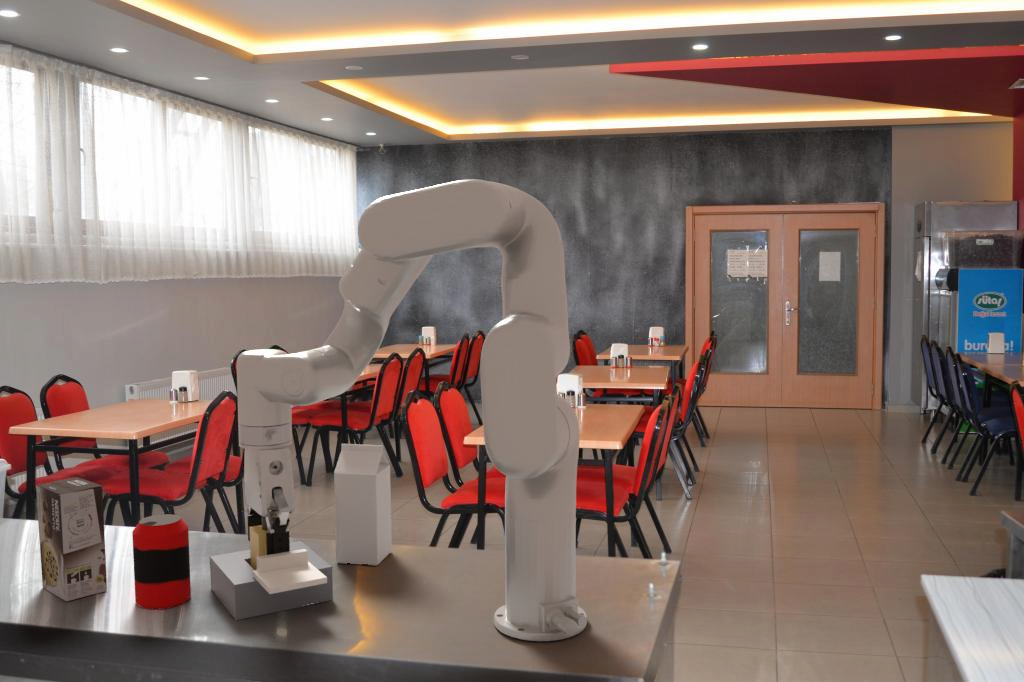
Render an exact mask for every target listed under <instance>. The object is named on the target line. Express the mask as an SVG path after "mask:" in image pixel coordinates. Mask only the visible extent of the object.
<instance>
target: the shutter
mask: <svg viewBox="0 0 1024 682" xmlns="http://www.w3.org/2000/svg"><path fill="white" fill-rule="evenodd" d="M256 559H257V570H254V571H253V577H254V578H255V579H256V580H257V581H258V582H259V583H260V585H261V586H262V587H263V588H264V589H265V590H266V591H267V592H268V593H269V594H273V593H278V592H283V591H289V590H294V589H299V588H304V587H309V586H314V585H319V584H324V583H327V577H326V576H325V575H324V574H323V573H321V572H320V571H319V570H318V569H317V568H316V567H314V566H313V565H312V564H311V563H310V562H309V561H308V551H307V550H306V549H300V550H294V551H289V552H283V553H277V554H271V555H266V556H260V557H256Z"/></svg>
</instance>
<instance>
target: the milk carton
mask: <svg viewBox="0 0 1024 682" xmlns="http://www.w3.org/2000/svg"><path fill="white" fill-rule="evenodd" d="M340 446H341V447H340V448H341V449H340V450H341V451H340V453H339V456H338V458H337V459H338V460H337V462H336V466H335V469H334V471H333V485H334V488H333V489H334V490H333V491H334V495H333V496H334V525H335V527H334V530H335V533H334V534H335V535H334V536H335V539H334V540H335V563H336V562H340V563H339V564H347V563H350V565H362V564H368V565H367V566H379V564H380V563H381V562H382V561H383V560H384V559H385V558H386V557H388V556H389V554H391V553H392V550H393V549H392V503H391V502H392V501H391V499H392V498H391V497H392V496H391V493H392V492H391V490H392V489H391V463H390V462H389V460H388V458H387V456H386V454H385V453H384V445H381V444H360V443H359V444H356V443H341V445H340ZM370 564H371V565H370Z"/></svg>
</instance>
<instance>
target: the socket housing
mask: <svg viewBox="0 0 1024 682" xmlns="http://www.w3.org/2000/svg"><path fill="white" fill-rule="evenodd" d="M300 549H306V550H307V551H308V561H309V562H310V563H311V564H312V565H313V566H314V567H316V568H317V569H318V570H319V571H320V572H321V573H323V574H324V575H325V576H326V577H327V583H324V584H319V585H314V586H309V587H304V588H299V589H294V590H289V591H283V592H278V593H273V594H269V593H268V592H267V591H266V590H265V589H264V588H263V587H262V586H261V585H260V583H259V582H258V581H257V580H256V579H255V578H254V577H253V571H254V569H253V568H252V567H251V558H250V549H247V550H246V549H245V550H239V551H234V552H229V553H228V552H227V553H222V554H215V555H212V556H209V568H210V569H209V571H210V589H211V591H212V592H213V593H214V594H215V596H216V597H217V598H218V599H219V601H220V602H221V604H223V606H224V607H225V608H226V610H227V611H228V613H230V615H231V616H232V617H233V619H234V620H235V621H239V620H243V619H248V618H253V617H258V616H262V615H263V616H264V615H269V614H273V613H277V612H282V611H286V610H287V611H288V610H291V609H296V607H297V608H301V607H300V606H302V607H304V606H303V605H307V604H311V603H317V602H321V603H325V602H324V601H326V602H329V601H328V600H331V601H333V600H334V596H333V595H334V591H333V587H334V585H333V566H332V565H331V564H329V563H328V562H327V561H325V559H324V558H323V557H321V556H320V555H319V554H317V553H316V552H315V551H314V550H312V549H311V548H310V547H309V546H307V545H306V544H305V543H303V542H302V541H301V540H300V541H293V542H290V551H294V550H300ZM317 604H318V603H317ZM307 606H308V605H307Z"/></svg>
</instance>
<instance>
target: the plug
mask: <svg viewBox="0 0 1024 682" xmlns="http://www.w3.org/2000/svg"><path fill="white" fill-rule="evenodd" d="M275 518H277V517H274V518H272V521H273V523H274V520H275ZM249 528H250V542H249V550H250V558H251V567H252V568H253V569H254V570H257V559H256V557H260V556H266V555H267V549H266V533H269V531H268V527H267V522H266V518H265V517H263V516H262V525H259V526H253V527H249Z"/></svg>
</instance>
